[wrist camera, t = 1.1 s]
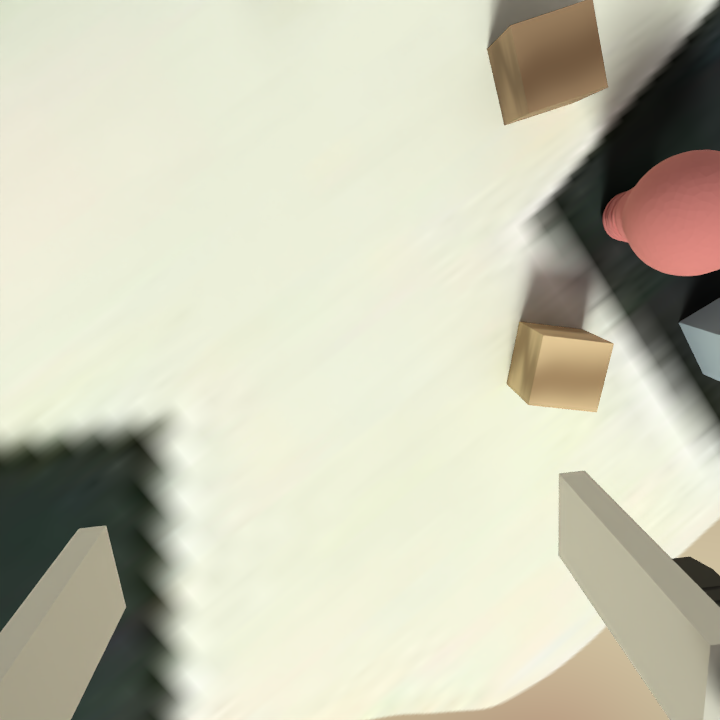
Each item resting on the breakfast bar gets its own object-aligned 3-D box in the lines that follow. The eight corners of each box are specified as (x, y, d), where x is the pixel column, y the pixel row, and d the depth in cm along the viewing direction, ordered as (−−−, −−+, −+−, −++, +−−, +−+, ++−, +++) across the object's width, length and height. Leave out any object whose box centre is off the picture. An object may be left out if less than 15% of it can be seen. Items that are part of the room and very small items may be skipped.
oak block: (519, 321, 43) (543, 335, 38) (581, 328, 43) (613, 343, 38) (506, 383, 44) (528, 404, 39) (567, 390, 44) (596, 412, 39)
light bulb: (554, 199, 40) (646, 193, 29) (641, 142, 40) (771, 113, 28) (597, 281, 42) (700, 308, 30) (681, 229, 41) (819, 235, 30)
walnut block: (486, 49, 38) (510, 25, 33) (557, 25, 38) (592, -2, 33) (504, 125, 39) (529, 113, 34) (572, 103, 39) (608, 87, 34)
